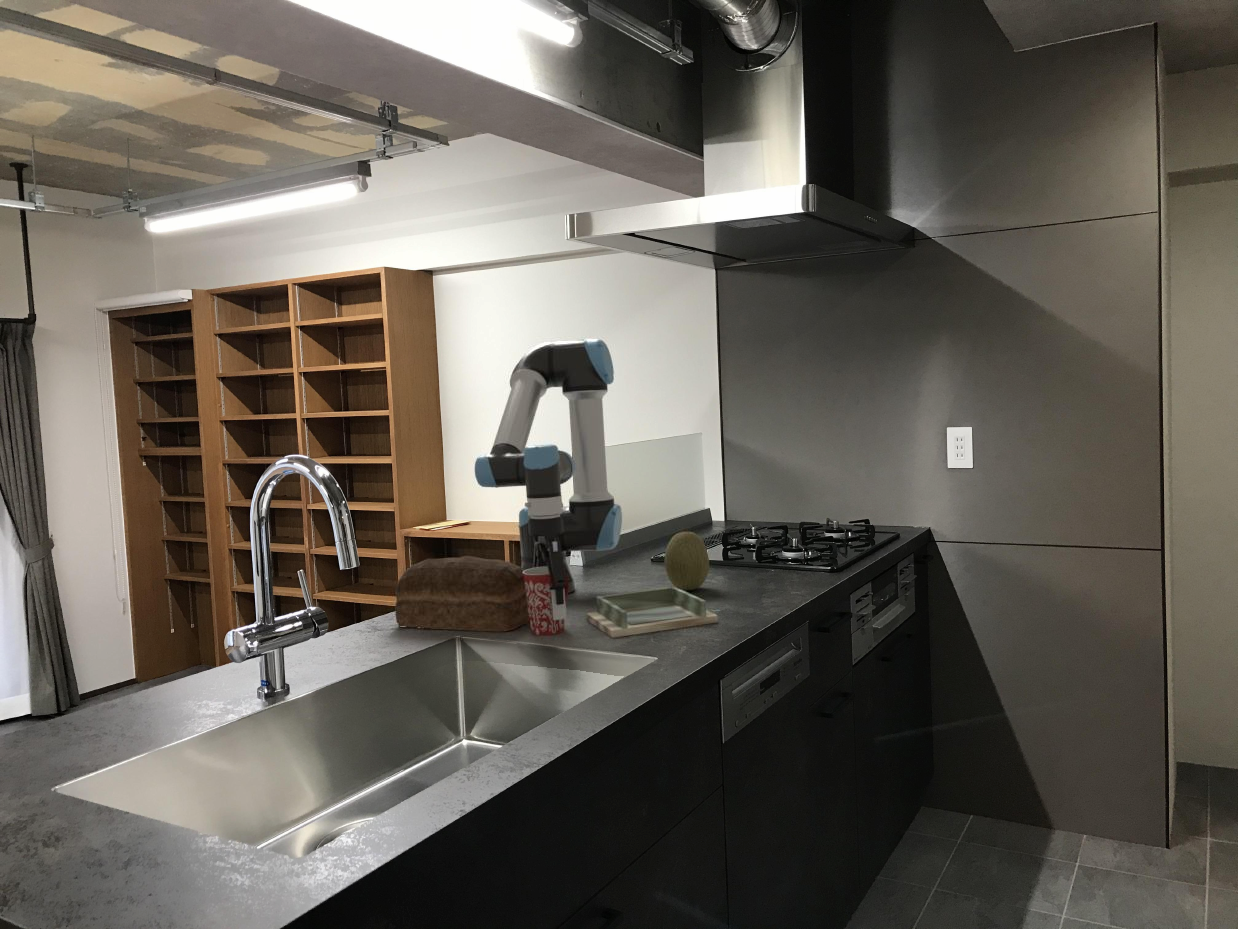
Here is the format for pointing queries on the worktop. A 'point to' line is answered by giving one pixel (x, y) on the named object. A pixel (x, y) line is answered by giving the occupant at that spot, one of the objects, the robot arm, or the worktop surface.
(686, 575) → the fruit
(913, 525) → the worktop surface
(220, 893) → the worktop surface
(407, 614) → the bread
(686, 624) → the tray
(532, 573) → the mug
